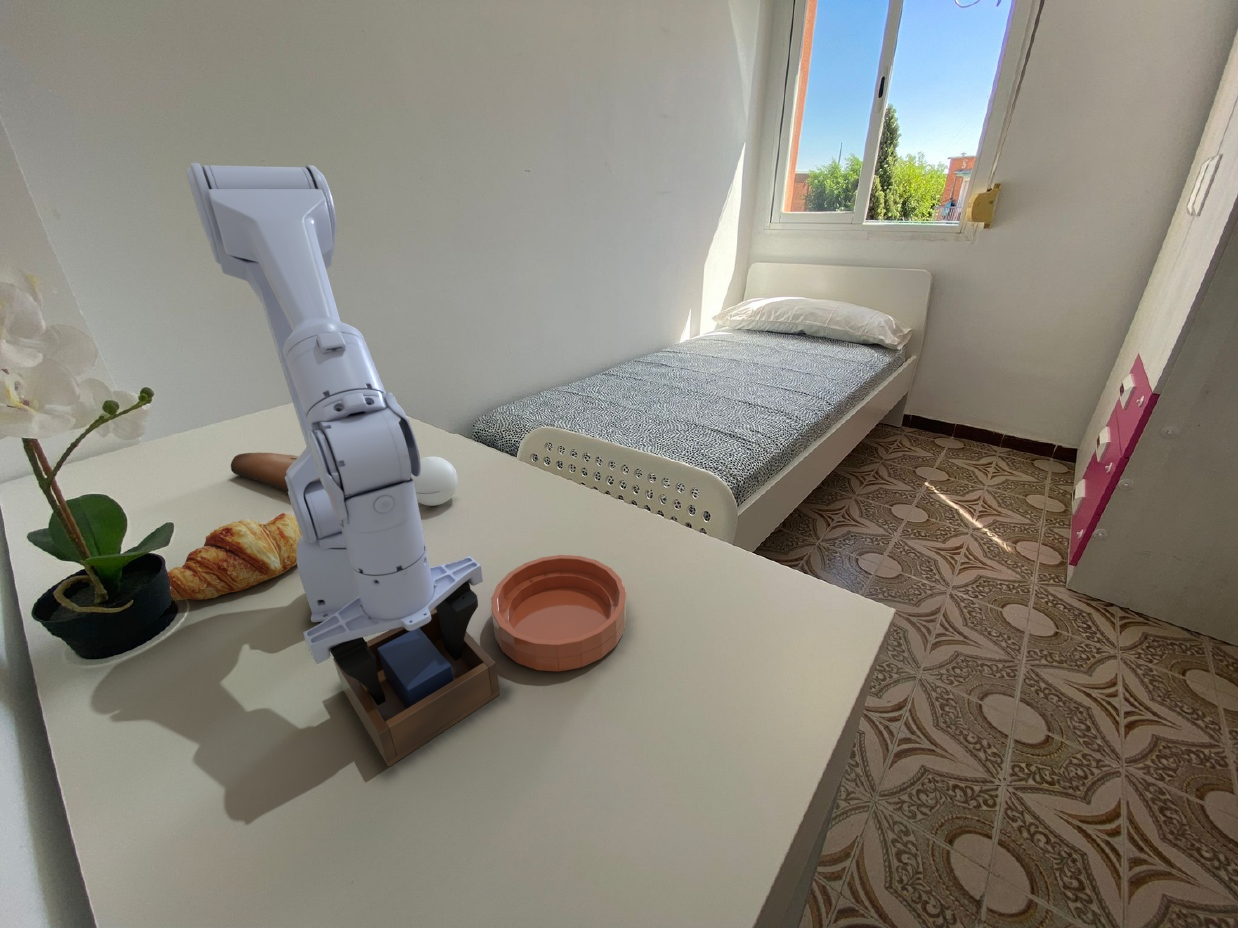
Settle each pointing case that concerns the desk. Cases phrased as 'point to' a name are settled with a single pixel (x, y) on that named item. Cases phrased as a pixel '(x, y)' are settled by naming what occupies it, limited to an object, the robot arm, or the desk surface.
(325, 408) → the robot arm
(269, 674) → the desk surface
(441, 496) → the white sphere
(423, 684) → the dark blue block
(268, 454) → the sunglasses case
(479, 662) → the box
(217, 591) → the croissant
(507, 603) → the bowl
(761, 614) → the desk surface
